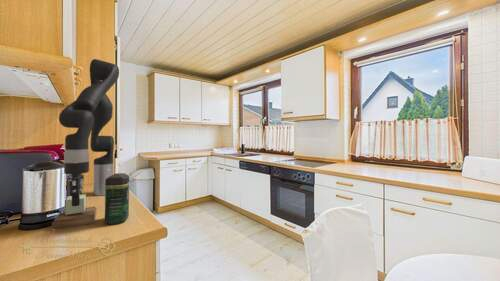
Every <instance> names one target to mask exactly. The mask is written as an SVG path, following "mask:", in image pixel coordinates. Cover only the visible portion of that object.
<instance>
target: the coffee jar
mask: <svg viewBox="0 0 500 281" xmlns="http://www.w3.org/2000/svg"><path fill="white" fill-rule="evenodd" d="M104 196H105V197H104V223H105V224H108V225H118V224H120V223H124V222H126V221H127V220H128V218H129V215H130V214H129V213H130V210H129V209H130V176H129V175H128V174H127V173H126V172H125V173H123V172H121V173H120V172H119V173H113V175H112V176H109V177H108V178H106V180H105V195H104Z"/></svg>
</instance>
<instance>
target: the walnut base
mask: <svg viewBox="0 0 500 281" xmlns="http://www.w3.org/2000/svg"><path fill="white" fill-rule="evenodd" d="M97 212H98V211H97V207H96V206H89V207H88V206H87V207H86V208H85V211H84V212H82V213H75V214H67V215H65V211H64V212H63V213H61V214H59V213H58V214H59V215H58V214H57V216H56V217H55V219H54V220H53V222H52V223H51V230H52V229H55V230H60V229H59V228H61V229H66V228H65V227H67V228H73V227H79V226H84V225H90V224H95V221H96V217H97Z"/></svg>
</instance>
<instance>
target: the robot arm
mask: <svg viewBox="0 0 500 281" xmlns="http://www.w3.org/2000/svg"><path fill="white" fill-rule="evenodd" d="M119 77H120V69H119V66H118V65H117V64H115V63H113V62H112V63H111V62H108V61H105V60H101V59H97V58H94V59H92V60H91V61H90V65H89V80H90V85H89V86H86V87H84V88H83V90H82V91H81V92H80V93H79V95H78V96H77V98H76V99H75V100H74V101H72V102H71V103H70V104H68V105H67V106H65V108H63V109H62V110H61V112H60V113H59V116H58V121H59V124H60V125H61V126H62V127H65V128H69V129H71V128H72V129H77V130H76V132H75V133H71V134H67V135H66V136H65V139H64V155H63V160H64V162H63V164H64V165H63V174H72V178H71V179H70V182H69V183H70V196H71V197H72V206H79V204H80V195H83V190H84V184H85V183H84V180H85V177H84V174H86V173H89V172H90V152H89V143H90V149H91V151H92V152H95V153H106V154H104V155H102V156H100V157H97V158H94V159H93V195H94V196H105V180H106V178H108V177H109V176H112V175H114V148H115V139H114V137H113V136H111V135H99V134H100V133H101V131H102V130H103V128H104V127H105V126H107V124H109V123H110V121H111V120H112V118H113V110H114V106H113V103H112V100H111V99H110V98H109V96H108V95H107V92H108V91H109V90H110V89H111V88H112V87H113V86H114V85H115V84H116V82H117V81H118V79H119ZM89 138H90V142H89ZM73 191H74V192H75V193H73Z"/></svg>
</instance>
